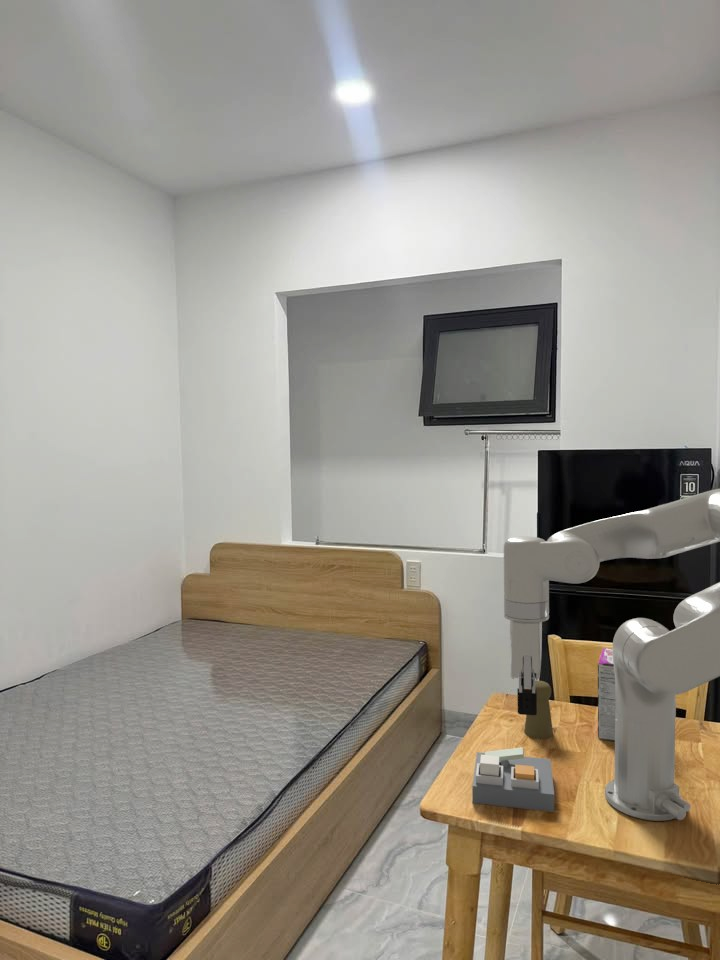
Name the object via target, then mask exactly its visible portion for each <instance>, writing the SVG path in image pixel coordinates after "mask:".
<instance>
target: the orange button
mask: <svg viewBox="0 0 720 960" xmlns="http://www.w3.org/2000/svg"><path fill="white" fill-rule="evenodd" d="M515 779H525V780H534V766H525V765H515Z"/></svg>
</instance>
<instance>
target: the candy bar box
mask: <svg viewBox="0 0 720 960" xmlns="http://www.w3.org/2000/svg"><path fill="white" fill-rule="evenodd" d="M615 704H616V691H615V673H614V664H613V651H612V648H607V647H603V648H602V649H601V652H600V655H599V659H598V662H597V738H598V739H599V740H603V741H610V742H611V741H612V742H615Z"/></svg>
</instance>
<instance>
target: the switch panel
mask: <svg viewBox="0 0 720 960" xmlns="http://www.w3.org/2000/svg"><path fill="white" fill-rule="evenodd" d="M481 755H485V752H476V756H475V764H474V772H473V779H472V787H471V788H472V795H471V796H472V804H480V805H488V806H497V807H504V808H505V807H506V808H516V809H524V810H534V811H543V812H550V813H551V812H553V813H555V788H554V777H553V770H552V769H553V768H552V761H551V758H542V757H541V758H540V757H532V756H524V759H515V760H505V761H499V776H494V775H484V774H480V759H481ZM515 765H525V766H534V780H525V779H515Z"/></svg>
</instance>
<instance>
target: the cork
mask: <svg viewBox="0 0 720 960" xmlns="http://www.w3.org/2000/svg"><path fill="white" fill-rule="evenodd" d="M535 689H536V692H537V714H536V715H525V716H526V717H525V720H524V721H525V722H524V730H523V732H524V735H526V736H527V737H530V738H531V739H538V740H547V739H550V738H552V737H553V736H554V730H553V722H552V715H551V706H550V700H549V699H550V697H551V696H552V688H551V686H550V684H549V683H548V682H546V681H543V680H535Z"/></svg>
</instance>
